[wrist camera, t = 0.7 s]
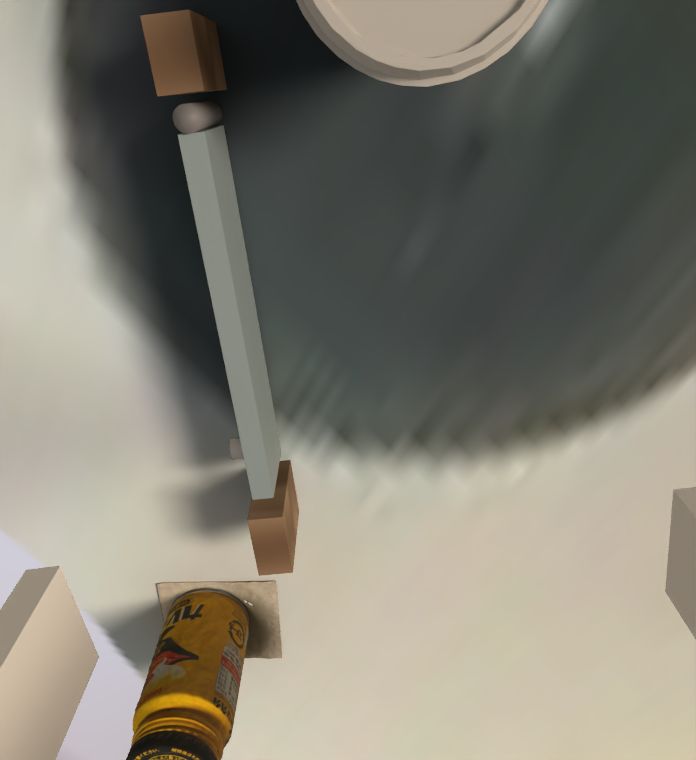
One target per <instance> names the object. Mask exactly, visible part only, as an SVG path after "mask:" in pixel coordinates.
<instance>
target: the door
mask: <svg viewBox="0 0 696 760" xmlns="http://www.w3.org/2000/svg"><path fill="white" fill-rule="evenodd" d="M222 116H223V113H222V109H221V107H220V106H219V105H218V104H217V103H216V102H214V101H202V102H194V103H186V104H181V105H179V106H177V107H176V109H175V110H174V112H173V122H174V125H175V126H176V128H177V129H178V130H179V131H181V132H182V134H178V139H179V144H180V149H181V154H182V158H183V163H184V168H185V173H186V178H187V183H188V188H189V193H190V197H191V202H192V207H193V212H194V217H195V222H196V227H197V232H198V236H199V241H200V246H201V251H202V256H203V261H204V266H205V271H206V275H207V280H208V285H209V290H210V295H211V300H212V305H213V310H214V314H215V319H216V324H217V329H218V334H219V339H220V344H221V349H222V354H223V358H224V363H225V368H226V373H227V378H228V383H229V388H230V393H231V397H232V402H233V407H234V412H235V417H236V422H237V427H238V432H239V436H240V438H231V439H230V443H229V448H230V455H231V458H232V459H237V458H244V461H245V466H246V471H247V475H248V480H249V485H250V490H251V495H252V500H256V499H267V498H274V492H275V486H276V480H277V474H278V468H279V462H280V456H281V448H280V442H279V437H278V431H277V425H276V420H275V414H274V408H273V403H272V397H271V391H270V386H269V380H268V374H267V368H266V363H265V357H264V351H263V346H262V340H261V334H260V329H259V323H258V317H257V312H256V306H255V300H254V295H253V289H252V283H251V278H250V272H249V266H248V261H247V255H246V249H245V244H244V238H243V232H242V227H241V221H240V215H239V209H238V204H237V198H236V192H235V187H234V181H233V175H232V170H231V164H230V158H229V153H228V147H227V141H226V136H225V130H224V125H220V126H215V125H217V124H219V123H220V122H221V120H222Z"/></svg>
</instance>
